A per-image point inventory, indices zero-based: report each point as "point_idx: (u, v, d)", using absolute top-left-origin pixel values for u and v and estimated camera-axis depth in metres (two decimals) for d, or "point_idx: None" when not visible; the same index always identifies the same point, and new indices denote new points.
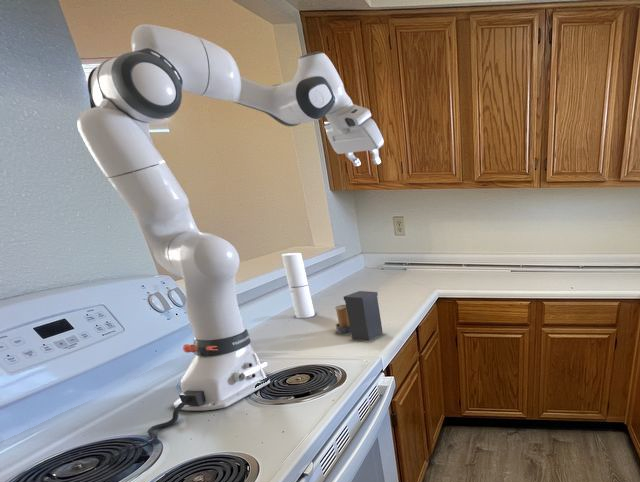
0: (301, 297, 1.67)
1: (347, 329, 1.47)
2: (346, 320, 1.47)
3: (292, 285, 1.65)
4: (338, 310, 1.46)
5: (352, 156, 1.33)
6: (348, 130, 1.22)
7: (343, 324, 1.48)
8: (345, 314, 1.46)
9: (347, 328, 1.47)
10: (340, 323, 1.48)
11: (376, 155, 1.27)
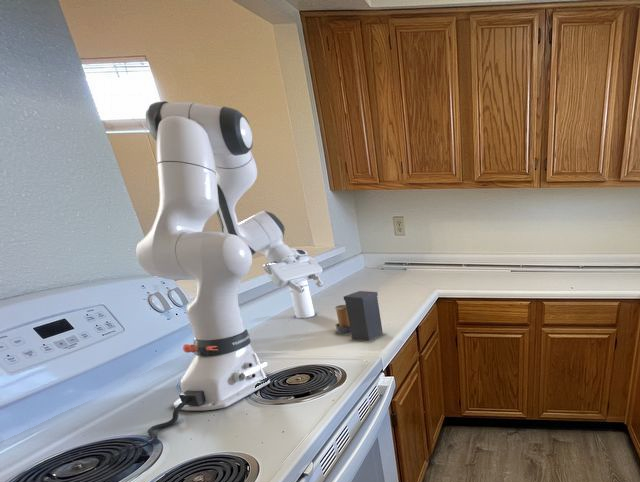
0: (301, 297, 1.67)
1: (347, 329, 1.47)
2: (346, 320, 1.47)
3: None
4: (338, 310, 1.46)
5: None
6: (296, 260, 1.49)
7: (343, 324, 1.48)
8: (345, 314, 1.46)
9: (347, 328, 1.47)
10: (340, 323, 1.48)
11: None
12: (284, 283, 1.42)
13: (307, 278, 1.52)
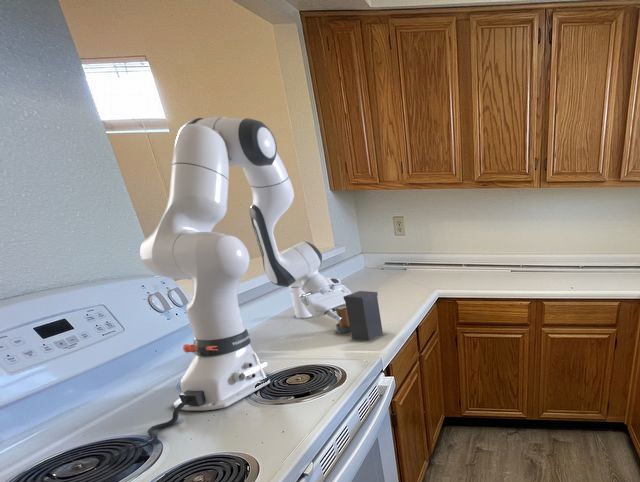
0: None
1: (347, 329, 1.47)
2: (346, 320, 1.47)
3: (292, 285, 1.65)
4: (338, 310, 1.46)
5: None
6: (331, 289, 1.49)
7: (343, 324, 1.48)
8: (345, 314, 1.46)
9: (347, 328, 1.47)
10: (340, 323, 1.48)
11: None
12: (320, 314, 1.41)
13: None
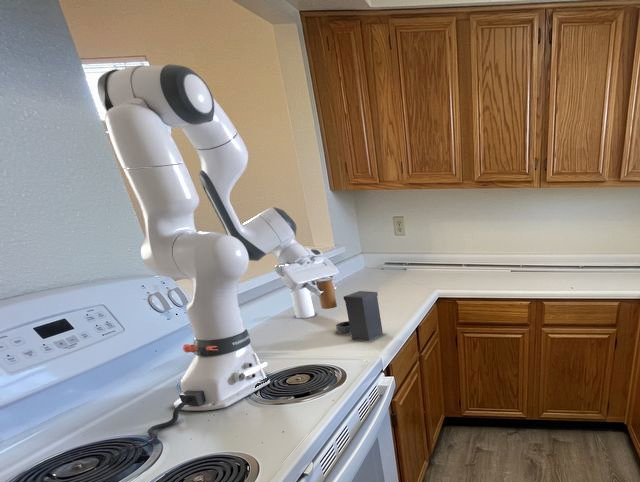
0: (301, 297, 1.67)
1: (347, 329, 1.47)
2: (328, 294, 1.33)
3: None
4: (318, 283, 1.31)
5: None
6: (311, 260, 1.34)
7: (324, 299, 1.33)
8: (326, 287, 1.32)
9: (347, 328, 1.47)
10: (321, 298, 1.33)
11: None
12: (298, 286, 1.27)
13: None
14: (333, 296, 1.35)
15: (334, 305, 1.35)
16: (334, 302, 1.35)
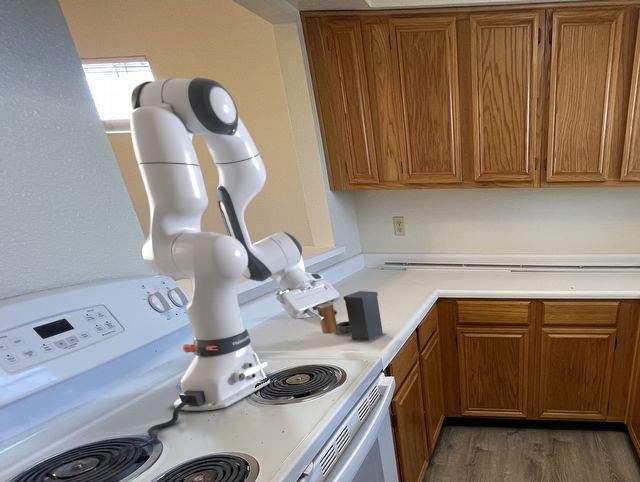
0: None
1: (347, 329, 1.47)
2: (329, 319, 1.33)
3: None
4: (319, 309, 1.31)
5: None
6: (312, 285, 1.34)
7: (325, 324, 1.33)
8: (327, 313, 1.32)
9: (347, 328, 1.47)
10: (322, 323, 1.33)
11: None
12: (299, 313, 1.27)
13: None
14: (334, 321, 1.35)
15: (335, 330, 1.36)
16: (335, 327, 1.35)
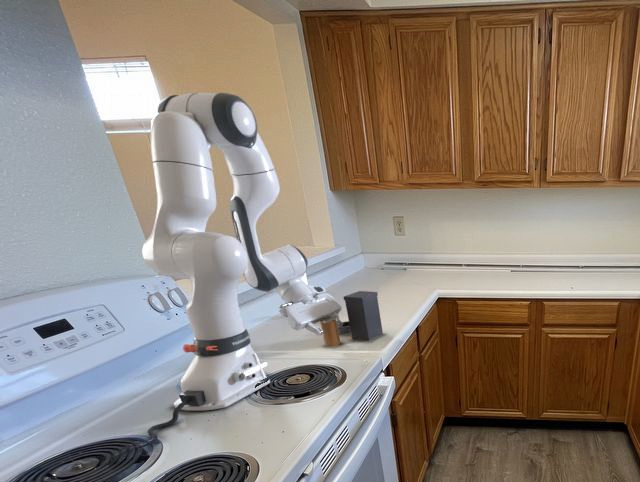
0: None
1: (347, 329, 1.47)
2: (332, 334, 1.35)
3: None
4: (322, 323, 1.33)
5: None
6: (314, 298, 1.36)
7: (328, 338, 1.35)
8: (330, 327, 1.34)
9: (347, 328, 1.47)
10: (325, 337, 1.35)
11: None
12: (301, 326, 1.28)
13: None
14: (337, 335, 1.37)
15: (338, 343, 1.37)
16: (338, 341, 1.37)
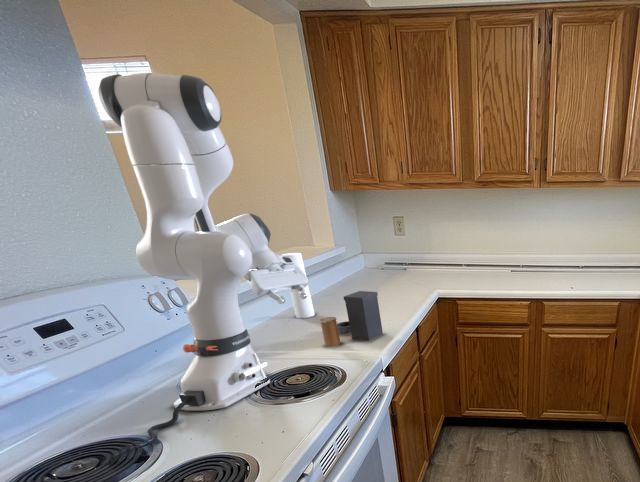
0: None
1: (347, 329, 1.47)
2: (332, 334, 1.35)
3: None
4: (322, 323, 1.33)
5: None
6: (281, 268, 1.37)
7: (328, 338, 1.35)
8: (330, 327, 1.34)
9: (347, 328, 1.47)
10: (325, 337, 1.35)
11: None
12: (264, 292, 1.29)
13: (290, 288, 1.40)
14: (337, 335, 1.37)
15: (338, 343, 1.37)
16: (338, 341, 1.37)
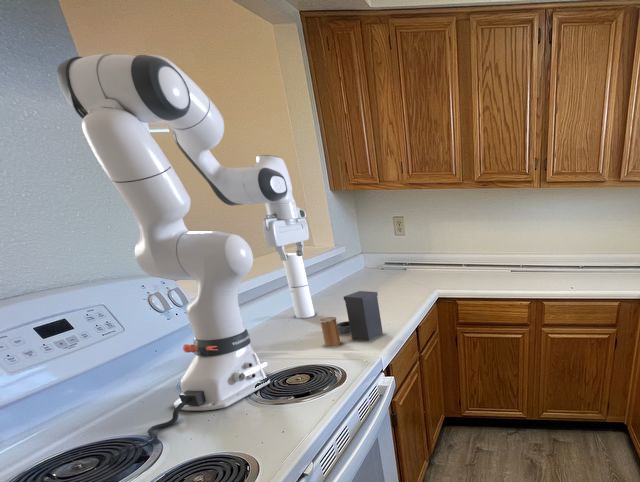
0: (301, 297, 1.67)
1: (347, 329, 1.47)
2: (332, 334, 1.35)
3: (292, 285, 1.65)
4: (322, 323, 1.33)
5: None
6: None
7: (328, 338, 1.35)
8: (330, 327, 1.34)
9: (347, 328, 1.47)
10: (325, 337, 1.35)
11: None
12: None
13: None
14: (337, 335, 1.37)
15: (338, 343, 1.37)
16: (338, 341, 1.37)
